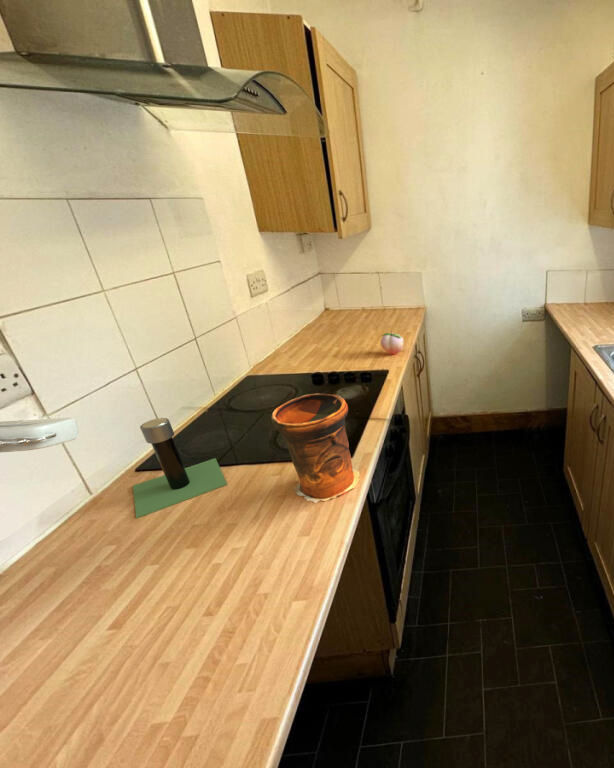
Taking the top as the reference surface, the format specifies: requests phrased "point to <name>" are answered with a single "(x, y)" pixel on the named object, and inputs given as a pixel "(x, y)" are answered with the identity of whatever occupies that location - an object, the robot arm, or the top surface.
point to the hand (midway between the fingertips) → (30, 425)
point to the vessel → (317, 445)
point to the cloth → (161, 495)
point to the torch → (166, 451)
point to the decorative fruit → (392, 342)
